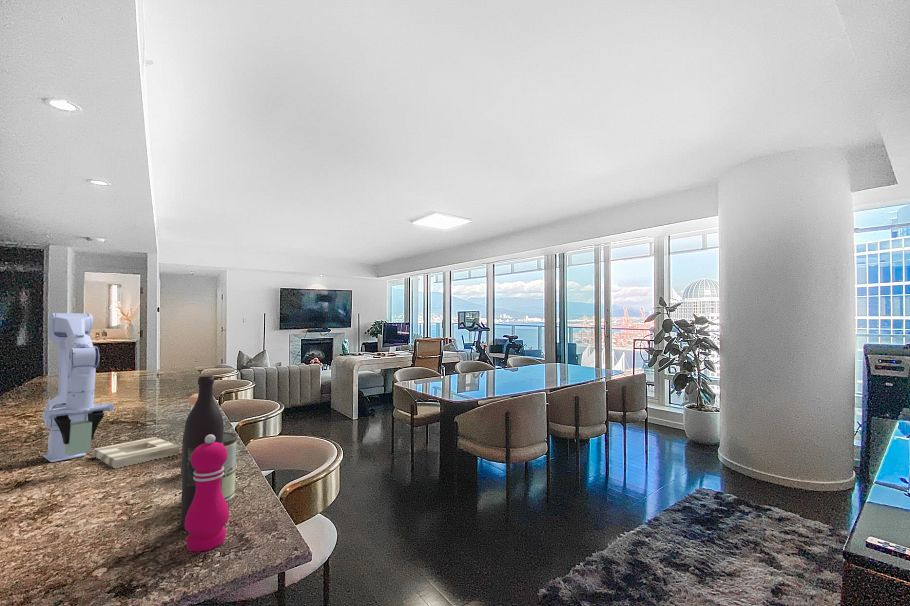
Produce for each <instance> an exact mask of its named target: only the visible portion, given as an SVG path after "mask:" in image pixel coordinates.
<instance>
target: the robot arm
mask: <svg viewBox="0 0 910 606" xmlns="http://www.w3.org/2000/svg"><path fill="white" fill-rule="evenodd" d="M93 324H94V317H93V315H92V314H91V312H88V313H80V312H79V313H75V312H74V313H70V312H69V313H67V312H66V313H65V312H64V313H63V312H51V313H50V314H49V316H48V323H47V325H48V328H47V329H48V333H47V334H48V335H47V336H48V338H49V339H48V340H49V341H50V342H52V343H55V344H56V346H57V350H58V377H57V378H58V381H57V382H58V386H57V388H58V391H57V393H58V394H57V395H56V396H55V397H53V398H51V399H50V400H48V401H47V403H46V404H45V409H44V410H45V411H44V410H43V411H42V415H41V416H42V417H41V418H42V419H41V420H43V421H44V428H46V429H49V430H50V431H49V434H48V439H47V440H48V441H47V453H46V454H43V455H42V457H43V458H45V459H46V460H47V461H49V462H50V463H54V462H59V461H65V460H69V459H70V460H71V459H74V458H80V457H86V456H87V453H82V454H76V455H71V456H69V455H67V454H66V453H65V444H69V429H70V423H71V422H77V421H84V420H88V421H90V422H92V436H91V441H92V440H94V437H95V433H96V430H97V428H98V426H99V424H100V423H101V421H102V419H103V418H104V416H105V413H104V412H107V411H108V412H112V411H114V409H115V404H114V403H111V402H109V403H99V404H95V390H96V386H95V385H96V373H97V372H96V368H98V366H99V363H100V351H99V347H98V346H96V345H95V346H94V344H93V341H92V338H91V337H90V336H91V332H92V331H93V326H94V325H93Z"/></svg>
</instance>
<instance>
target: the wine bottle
mask: <svg viewBox="0 0 910 606" xmlns="http://www.w3.org/2000/svg"><path fill="white" fill-rule="evenodd" d="M214 383H215V377H214V375H209V374H207V375H201V376H200V375H199V376H198V378H197V385H198V392H199V394H198V393H197V394H198V399H197V401H196V403H195V405H194V407H193V408H192V410H191V409H190V411H189V414H188V416H187V417H186V420H185V424H184V430H183V431H184V432H183V434H184V447H183V473H182V476H181V478H182V479H181V499H180V500H181V501H180V502H181V503H180V528H181V529H182V530H184V531H186V530H185V527H184V523H185V517H186V514H187V512H188V510H189V508H190V506H191V504H192V501H193V499H194V495H195V490H196V481H195V480H194V479H193V477H194V474H193V472H194V471H195V470H196V469H195V468H194V467H193V466H192V465H191V455H192V453H193V451H194V450H195V449H196V448H197V447H198V446H200V445H202V444H204V443H205V437H206V436H207V435H210V434H212V435H214V436H215V442H218V443H221V444H223V435H224V432H225V429H224V427H225V426H224V419H223V415H222V412H221V409H220V408H219V407H218V405H217V403H216V401H215V398H214V393H213V387H214ZM213 398H214V399H213ZM221 490H222V477H221Z"/></svg>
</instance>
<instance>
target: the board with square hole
mask: <svg viewBox="0 0 910 606" xmlns="http://www.w3.org/2000/svg"><path fill="white" fill-rule="evenodd" d="M93 451H94V452H93V458H95V457H96V458H95V459H97V458H98V459H100V460H101V462H102V461H103V462H102V463H104V462H105V463H106V465H107V464H108V465H107V466H109V465H110V466H109V467H111V468H112V467H113V469H114V468H115V469H114V470H116V468H117V469H121V468H120V467H122V468H125V467H124V466H126V467H129V465H130V466H134V465H133V464H135V465H137V464H138V463H139V464H142V462H143V463H147V462H146V461H148V462H151V461H150V460H152V461H155V460H154V459H157V460H160V459H159V458H161V459H165V458H169V457H168V456H170V457H174V456H177V454H178V455H179V454H180V445H178V444H175V443H172V442H169V441H167V440H164V439H161V438H159V437H157V436H152V437H148V438H142V439H138V440H133V441H127V442H123V443H117V444H111V445H107V446H102V447H96V448H94V450H93ZM173 455H174V456H173ZM164 457H165V458H164ZM98 459H97V460H98ZM100 460H99V461H100ZM105 463H104V464H105Z"/></svg>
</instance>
